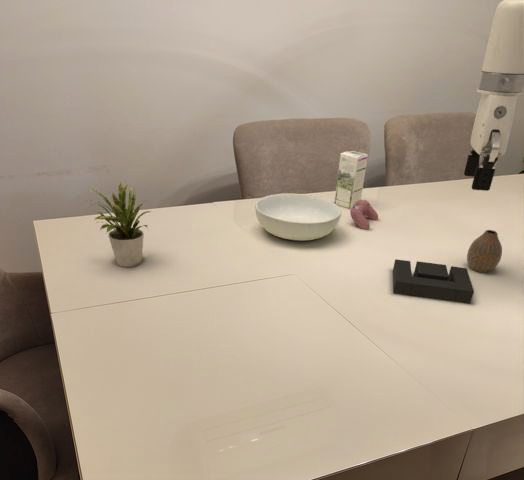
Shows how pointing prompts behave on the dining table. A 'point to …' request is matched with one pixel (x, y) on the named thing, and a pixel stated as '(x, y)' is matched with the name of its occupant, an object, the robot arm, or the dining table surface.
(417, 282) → the notched pad
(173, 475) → the dining table surface
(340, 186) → the syrup box
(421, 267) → the black block
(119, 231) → the house plant
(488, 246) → the vase
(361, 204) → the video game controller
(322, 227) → the serving bowl
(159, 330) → the dining table surface
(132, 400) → the dining table surface
